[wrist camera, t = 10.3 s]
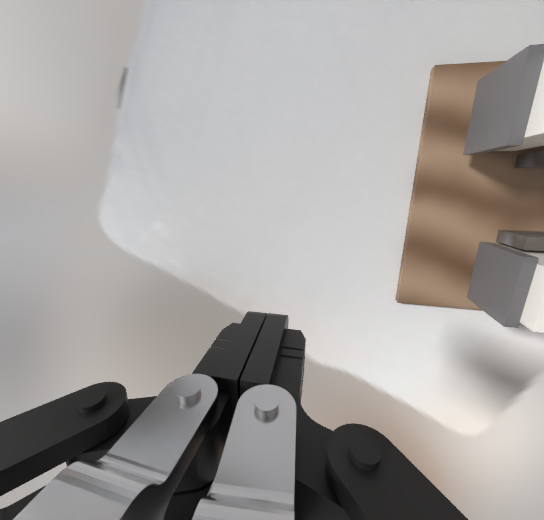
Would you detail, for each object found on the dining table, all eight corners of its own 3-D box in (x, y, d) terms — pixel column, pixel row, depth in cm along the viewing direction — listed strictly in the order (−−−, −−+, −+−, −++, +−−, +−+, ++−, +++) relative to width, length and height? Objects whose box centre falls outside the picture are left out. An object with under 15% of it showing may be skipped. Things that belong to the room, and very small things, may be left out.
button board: (433, 57, 25) (512, -35, 14) (642, 44, 22) (927, -83, 12) (395, 299, 32) (431, 354, 21) (552, 312, 29) (681, 382, 19)
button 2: (468, 87, 24) (549, 32, 15) (531, 84, 23) (653, 24, 15) (455, 156, 26) (521, 142, 17) (513, 156, 25) (613, 141, 16)
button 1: (471, 238, 27) (539, 262, 19) (526, 241, 26) (623, 267, 18) (459, 292, 29) (516, 336, 20) (510, 295, 28) (593, 343, 20)
